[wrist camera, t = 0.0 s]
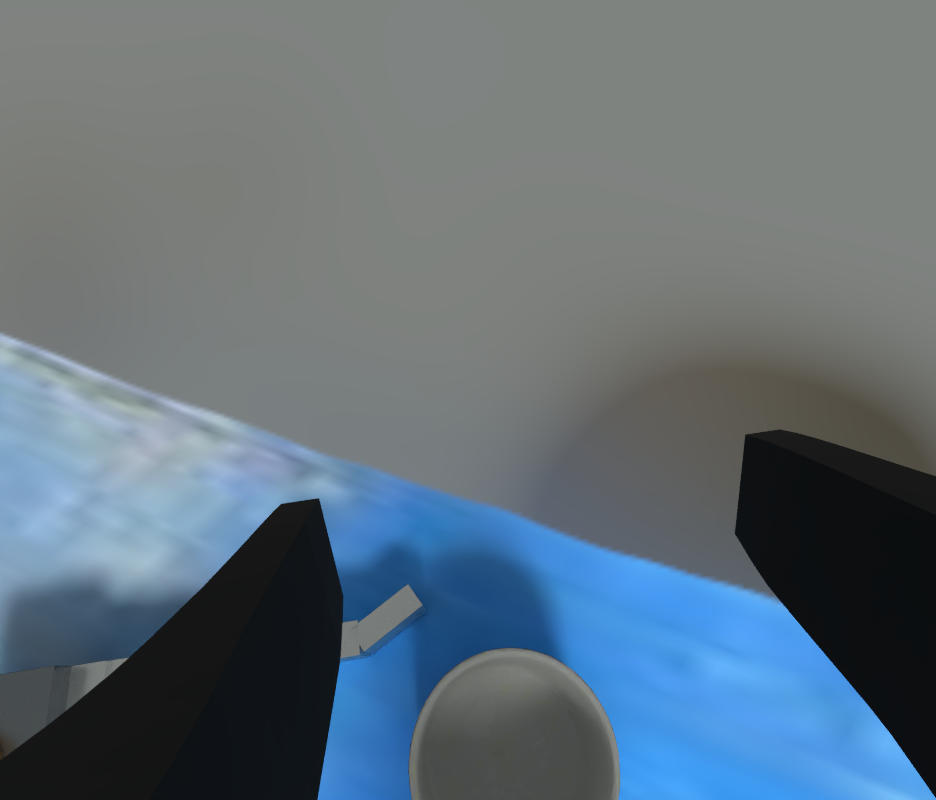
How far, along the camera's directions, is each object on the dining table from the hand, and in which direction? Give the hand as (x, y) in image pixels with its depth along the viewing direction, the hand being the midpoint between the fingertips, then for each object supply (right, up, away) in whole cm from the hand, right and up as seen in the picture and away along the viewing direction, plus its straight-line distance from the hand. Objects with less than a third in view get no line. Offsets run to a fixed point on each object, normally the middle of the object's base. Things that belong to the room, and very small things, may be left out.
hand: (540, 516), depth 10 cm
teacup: (+1, -21, +26) cm, 33 cm away
